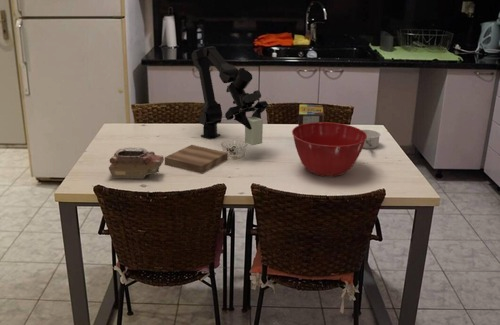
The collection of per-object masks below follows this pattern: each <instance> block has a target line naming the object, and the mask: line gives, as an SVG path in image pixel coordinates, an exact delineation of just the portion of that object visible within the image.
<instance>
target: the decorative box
mask: <svg viewBox="0 0 500 325" xmlns="http://www.w3.org/2000/svg"><path fill="white" fill-rule="evenodd" d="M164 162H165V157H164V155H161V154H160V155H159V154H158V155H157V154H156V153H155V152H154V151H148V150H147V149H145V148H142V147H124V148H123V147H122V148H120V149H117V150H116V151H115V152H114V153H113V156H112V157H110V158H109V163H110V165H108V170H109V173H110V175H111V178H112V179H144V178H145V177H146V176H147V175H151V174H152V175H155V174H157V173H160V168H161V166H162V164H163V163H164Z"/></svg>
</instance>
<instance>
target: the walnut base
mask: <svg viewBox="0 0 500 325" xmlns="http://www.w3.org/2000/svg"><path fill="white" fill-rule="evenodd" d="M228 156H229V153H228V152H226V151H223V150H217V149H213V148H208V147H204V146H199V145H195V144H190V145H188V146H186V147H183V148H181V149H179V150H177V151H175V152H173V153H171V154H169V155H166V156H165V157H164V165H166V166H170V167H174V168H177V169H178V168H179V169H182V170H186V171H190V172H194V173H198V174H204V173H205V172H208V171H210V170H211V169H213V168H215V167H217V166H219V165H220V164H222V163H224V162H226V161H228Z"/></svg>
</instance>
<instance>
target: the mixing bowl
mask: <svg viewBox="0 0 500 325" xmlns="http://www.w3.org/2000/svg"><path fill="white" fill-rule="evenodd" d="M362 130H363V129H360V128H358V127H356V126H352V125H349V124H344V123H339V122H328V121H323V122H315V123H306V124H302V125H299V126H298V125H297V126H295V127H294V128H292V130H291V133H292V136H293V141H294V145H295V149H296V152H297V154H298V157H299V160H300V161H301V163H302V165H303V167H304V168H305V169H306V170H308V171H309V172H310V173H312V174H314V175H316V176H320V177H328V178H329V177H330V178H331V177H338V176H342V175H343V174H345V173H347V172H348V171H350V170H351V168H352V167H353V166H354V164H355V163H356V161H357V160H358V158H359V157H360V154H361V152H362V150H363V149H364V148H363V145H364V142H365V140H366V139H367V135H366V133H365V132H364V131H362Z"/></svg>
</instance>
